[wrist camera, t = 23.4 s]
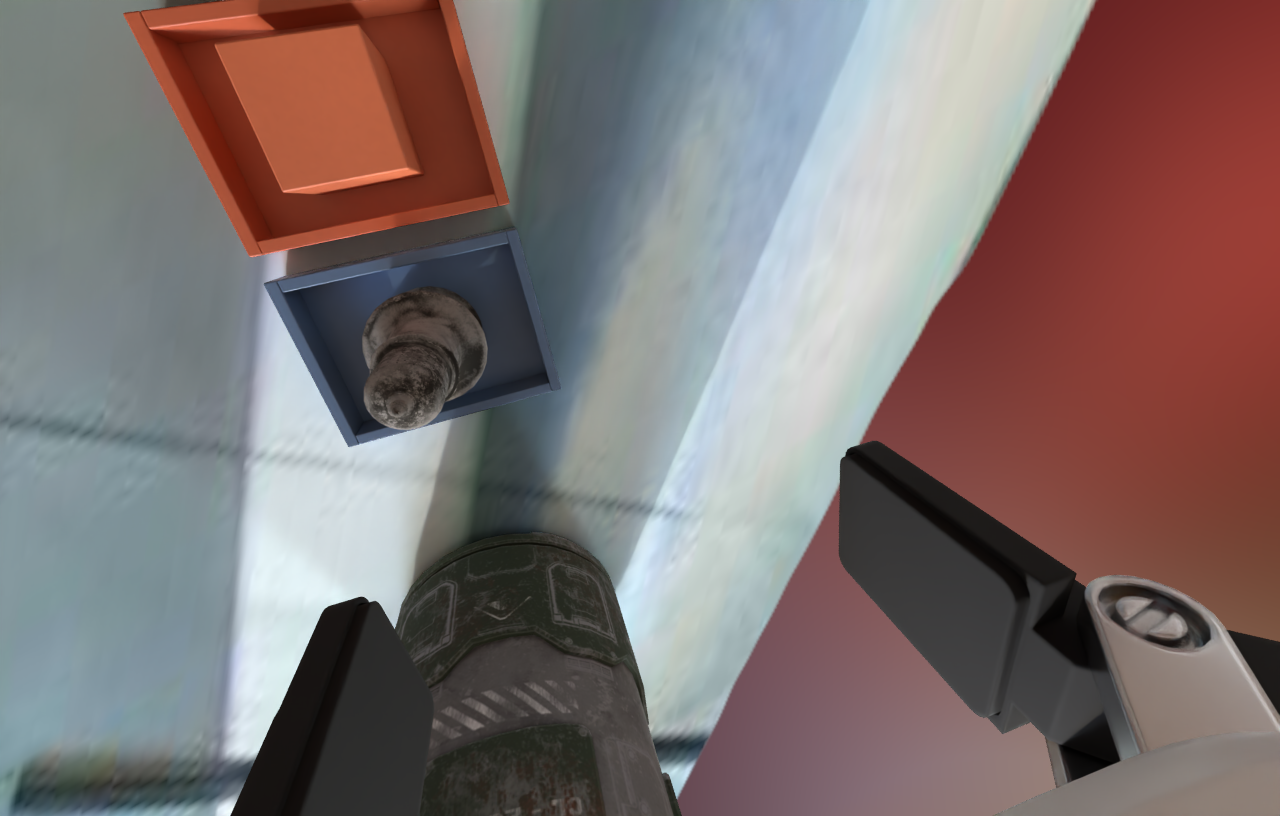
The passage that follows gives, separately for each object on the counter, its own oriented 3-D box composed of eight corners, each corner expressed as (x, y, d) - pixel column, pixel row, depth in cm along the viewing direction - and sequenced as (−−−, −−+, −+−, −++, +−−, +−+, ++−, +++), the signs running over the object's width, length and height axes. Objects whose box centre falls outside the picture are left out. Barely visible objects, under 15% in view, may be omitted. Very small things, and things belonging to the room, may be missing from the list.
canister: (643, 545, 38) (917, 1185, 13) (570, 691, 42) (674, 1392, 17) (436, 502, 32) (228, 1531, 7) (373, 677, 36) (100, 1726, 11)
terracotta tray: (450, -5, 23) (445, -28, 20) (508, 203, 27) (509, 203, 24) (161, 33, 21) (121, 12, 18) (271, 252, 25) (249, 257, 22)
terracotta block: (385, 58, 22) (357, 22, 18) (425, 175, 25) (409, 168, 20) (270, 75, 22) (211, 42, 17) (322, 195, 24) (281, 192, 19)
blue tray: (515, 226, 27) (516, 228, 25) (557, 375, 31) (561, 389, 29) (283, 276, 25) (262, 283, 23) (359, 429, 29) (348, 448, 27)
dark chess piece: (358, 296, 26) (261, 360, 15) (468, 268, 27) (448, 311, 16) (404, 393, 28) (348, 507, 18) (502, 365, 29) (505, 458, 19)
